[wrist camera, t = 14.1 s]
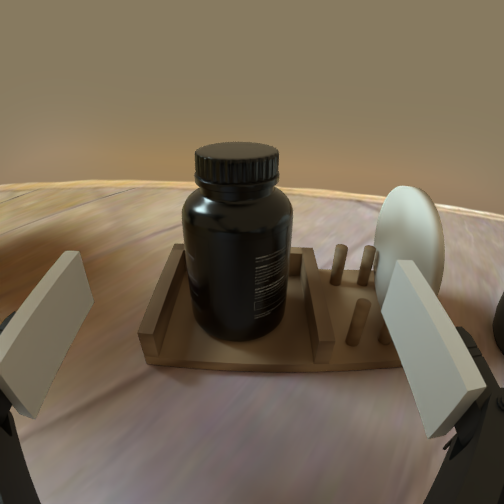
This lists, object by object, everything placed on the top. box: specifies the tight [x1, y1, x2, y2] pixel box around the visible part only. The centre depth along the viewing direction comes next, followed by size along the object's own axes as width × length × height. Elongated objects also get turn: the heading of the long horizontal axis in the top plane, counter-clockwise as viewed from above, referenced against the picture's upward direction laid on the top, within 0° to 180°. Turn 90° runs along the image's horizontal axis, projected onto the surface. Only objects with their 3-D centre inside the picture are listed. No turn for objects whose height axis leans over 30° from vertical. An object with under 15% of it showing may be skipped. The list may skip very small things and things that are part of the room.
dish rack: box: [138, 186, 445, 372], centre depth 22 cm, size 20×11×11 cm, turn 89°
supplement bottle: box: [182, 142, 293, 342], centre depth 21 cm, size 7×7×12 cm
